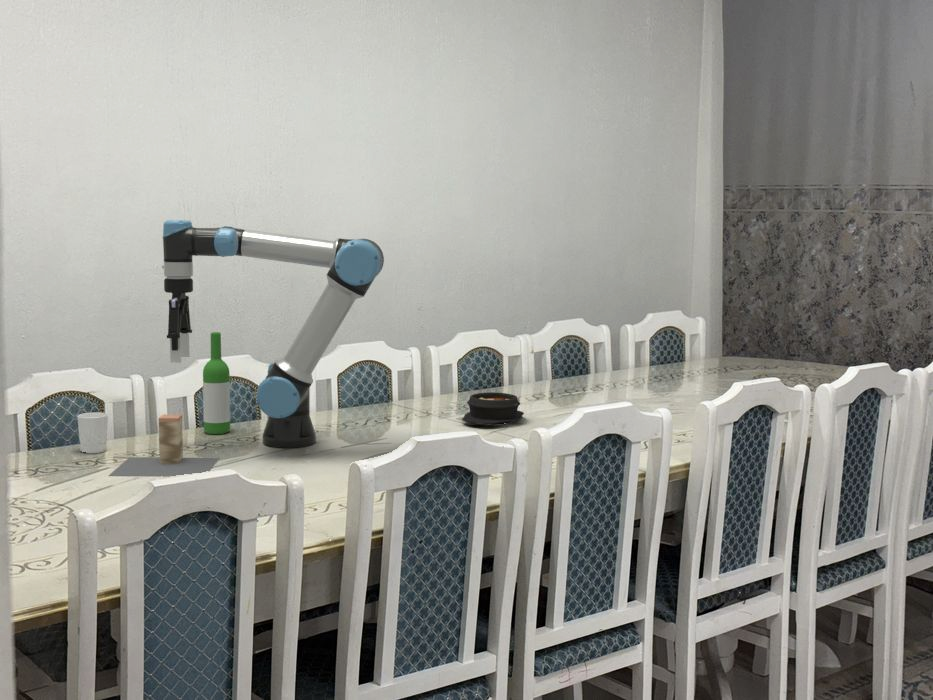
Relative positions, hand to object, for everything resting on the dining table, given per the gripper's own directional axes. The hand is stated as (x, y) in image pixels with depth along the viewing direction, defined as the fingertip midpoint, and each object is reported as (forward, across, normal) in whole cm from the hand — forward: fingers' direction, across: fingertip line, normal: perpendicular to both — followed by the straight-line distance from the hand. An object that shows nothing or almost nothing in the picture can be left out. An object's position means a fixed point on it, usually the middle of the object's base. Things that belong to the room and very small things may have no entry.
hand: (180, 359), depth 295 cm
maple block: (+25, +13, 0) cm, 28 cm away
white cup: (+26, 0, -24) cm, 35 cm away
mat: (+26, +19, 0) cm, 32 cm away
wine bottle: (+26, -25, +5) cm, 36 cm away
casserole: (+26, -44, +89) cm, 103 cm away
